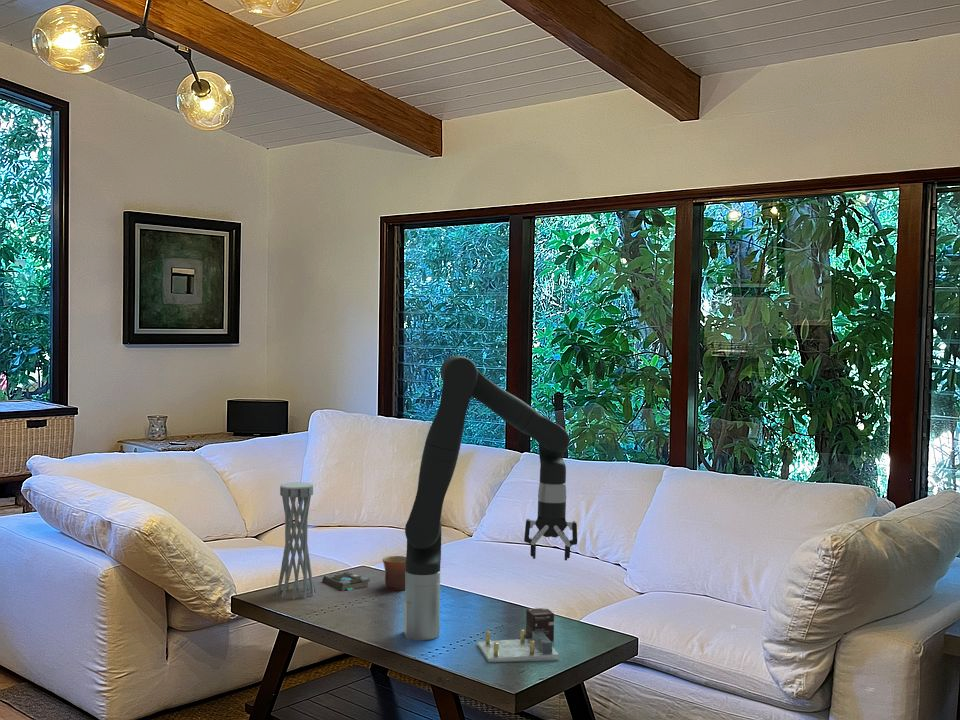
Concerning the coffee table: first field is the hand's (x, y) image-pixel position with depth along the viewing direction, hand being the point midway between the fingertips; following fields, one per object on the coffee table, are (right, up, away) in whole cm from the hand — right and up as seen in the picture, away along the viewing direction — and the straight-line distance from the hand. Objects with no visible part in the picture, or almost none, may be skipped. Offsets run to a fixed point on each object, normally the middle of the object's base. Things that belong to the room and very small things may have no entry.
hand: (550, 559), depth 260 cm
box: (-3, -21, -2) cm, 21 cm away
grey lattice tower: (-74, -19, +30) cm, 82 cm away
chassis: (-9, -21, -15) cm, 28 cm away
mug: (-45, -19, +43) cm, 65 cm away
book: (-60, -19, +43) cm, 76 cm away
